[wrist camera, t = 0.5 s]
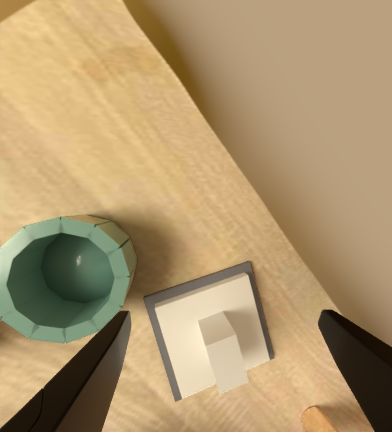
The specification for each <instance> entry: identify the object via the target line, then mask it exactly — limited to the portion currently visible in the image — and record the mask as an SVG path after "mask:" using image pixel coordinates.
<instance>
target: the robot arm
mask: <svg viewBox="0 0 392 432" xmlns="http://www.w3.org/2000/svg"><path fill="white" fill-rule="evenodd" d="M318 326H319V329H320V331H321V333H322V335H323V337H324V340H325V342H326V344H327V346H328V348H329V350H330V352H331V354H332V356H333V359H334V361H335V363H336V365H337V366H338V368H339V370H340V372H341V374H342V375H343V377H344V379H345V380H346V382H347V384H348V386H349V387H350V389H351V391H352V393H353V394H354V396H355V398H356V400H357V401H358V403H359V405H360V407H361V408H362V410H363V412H364V414H365V415H366V417H367V419H368V421H369V422H370V424H371V426H372V428H373V429H374V431H375V432H392V347H390V346H389V345H387V344H386V343H384V342H383V341H381V340H379V339H378V338H376V337H375V336H373V335H372V334H370V333H368V332H367V331H365V330H364V329H362V328H360V327H359V326H357V325H356V324H354V323H353V322H351V321H350V320H348V319H346V318H345V317H343V316H342V315H340V314H338V313H337V312H335V311H334V310H322V312H321V315H320V318H319V321H318ZM130 331H131V317H130V312H129V311H119V312H118V313H117V314H116V315H115V316H114V317H113V318H112V319H111V320H110V321H109V322H108V323H107V324H106V325H105V326H104V327H103V328H102V329H101V330H100V331H99V332H98V333H97V334H96V335H95V336H94V337H93V338H92V339H91V340H90V341H89V342H88V343H87V344H86V345H85V346H84V347H83V348H82V349H81V350H80V351H79V352H78V353H77V354H76V355H75V356H74V357H73V358H72V359H71V360H70V361H69V362H68V363H67V364H66V365H65V366H64V367H63V368H62V369H61V370H60V371H59V372H58V373H57V374H56V375H55V376H54V377H53V378H52V379H51V380H50V381H49V382H48V383H47V384H46V385H45V386H44V389H43V388H42V389H41V390H40V391H39V392H38V393H37V394H36V395H35V396H34V397H33V398H32V399H31V400H30V401H29V402H28V403H27V404H26V405H25V406H24V407H23V408H22V409H21V410H19V411H18V412H17V413H16V414H15V415H14V416H13V417H12V418H11V419H10V420H9V421H8V422H7V423H6V424H5V425H4V426H2V427H1V428H0V432H101V431H102V428H103V425H104V422H105V419H106V416H107V413H108V410H109V407H110V404H111V401H112V398H113V395H114V392H115V389H116V386H117V382H118V379H119V376H120V373H121V370H122V366H123V362H124V358H125V353H126V349H127V344H128V340H129V336H130Z"/></svg>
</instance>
